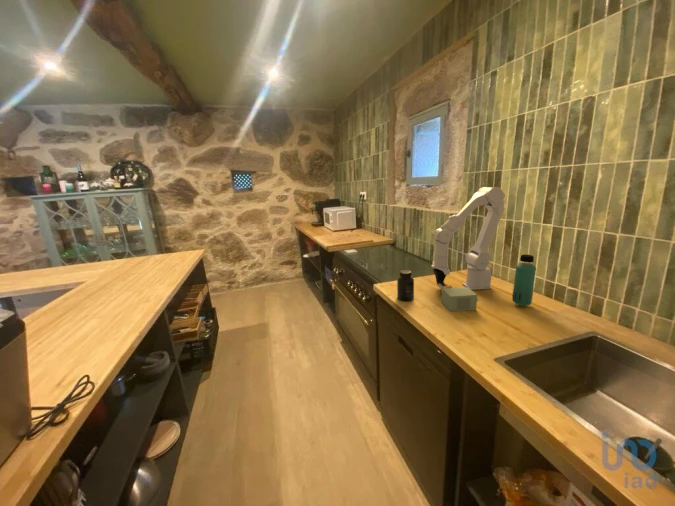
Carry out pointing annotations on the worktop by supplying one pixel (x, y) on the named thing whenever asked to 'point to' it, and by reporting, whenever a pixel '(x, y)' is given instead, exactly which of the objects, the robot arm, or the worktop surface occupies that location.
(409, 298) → the supplement bottle
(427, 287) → the worktop surface
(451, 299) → the block
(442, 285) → the shaft
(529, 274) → the beverage bottle
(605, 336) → the worktop surface
